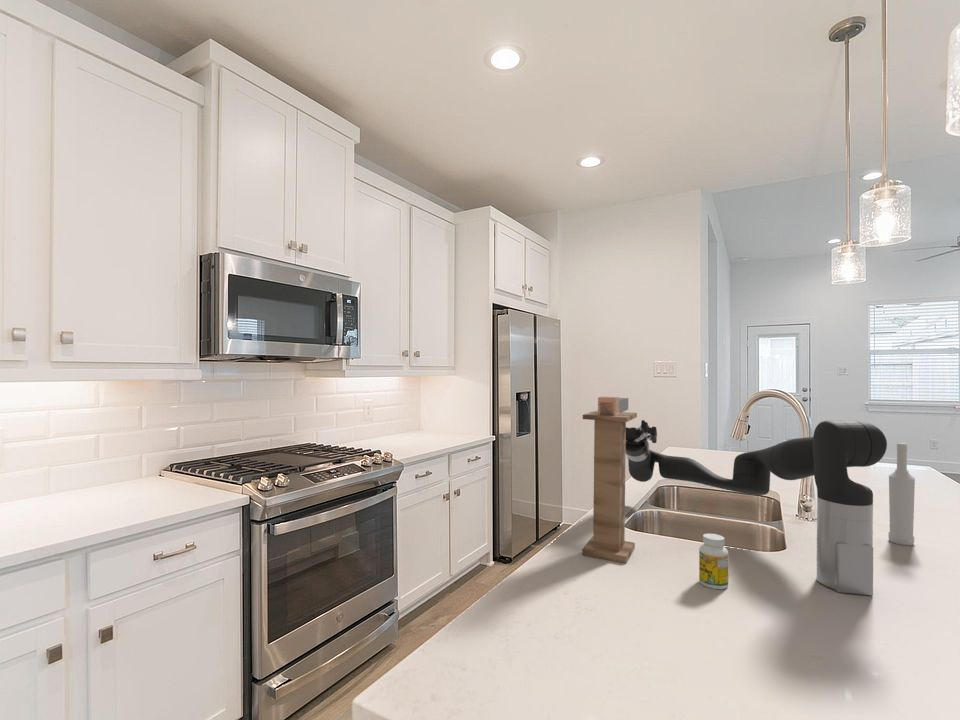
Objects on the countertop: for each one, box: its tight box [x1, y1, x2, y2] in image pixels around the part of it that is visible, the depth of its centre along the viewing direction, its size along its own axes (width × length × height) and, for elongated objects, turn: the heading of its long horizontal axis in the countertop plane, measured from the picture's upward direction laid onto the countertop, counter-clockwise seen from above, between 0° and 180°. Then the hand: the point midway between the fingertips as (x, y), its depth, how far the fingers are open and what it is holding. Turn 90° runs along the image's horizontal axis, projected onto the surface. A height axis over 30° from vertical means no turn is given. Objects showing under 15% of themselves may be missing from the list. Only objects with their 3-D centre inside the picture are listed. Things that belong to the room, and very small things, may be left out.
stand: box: [581, 410, 638, 564], centre depth 119 cm, size 12×10×32 cm
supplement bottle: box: [698, 533, 729, 590], centre depth 102 cm, size 5×5×10 cm
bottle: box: [887, 442, 916, 546], centre depth 129 cm, size 5×5×25 cm
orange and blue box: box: [597, 396, 629, 416], centre depth 124 cm, size 18×4×4 cm, turn 153°
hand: (626, 422), depth 137 cm, fingers open, 8 cm apart
